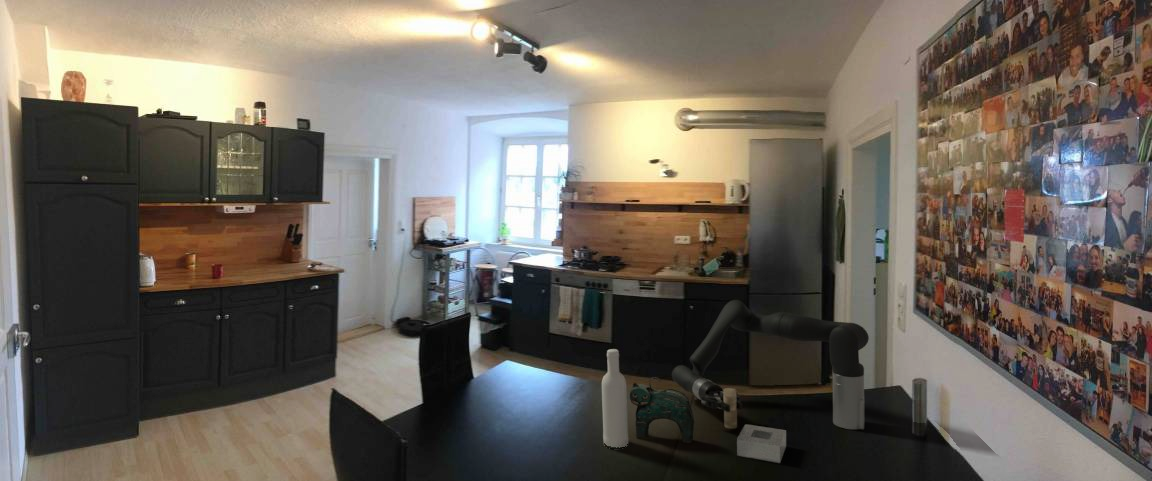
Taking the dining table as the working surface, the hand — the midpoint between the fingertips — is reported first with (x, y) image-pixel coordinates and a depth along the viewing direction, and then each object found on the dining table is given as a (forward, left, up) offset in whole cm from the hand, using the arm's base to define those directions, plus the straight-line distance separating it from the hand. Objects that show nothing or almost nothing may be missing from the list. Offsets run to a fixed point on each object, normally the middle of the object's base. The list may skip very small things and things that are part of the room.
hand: (734, 407), depth 179 cm
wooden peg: (+2, -2, -7) cm, 8 cm away
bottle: (+32, +22, -9) cm, 40 cm away
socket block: (-10, +9, -9) cm, 16 cm away
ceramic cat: (+20, +12, -9) cm, 25 cm away
